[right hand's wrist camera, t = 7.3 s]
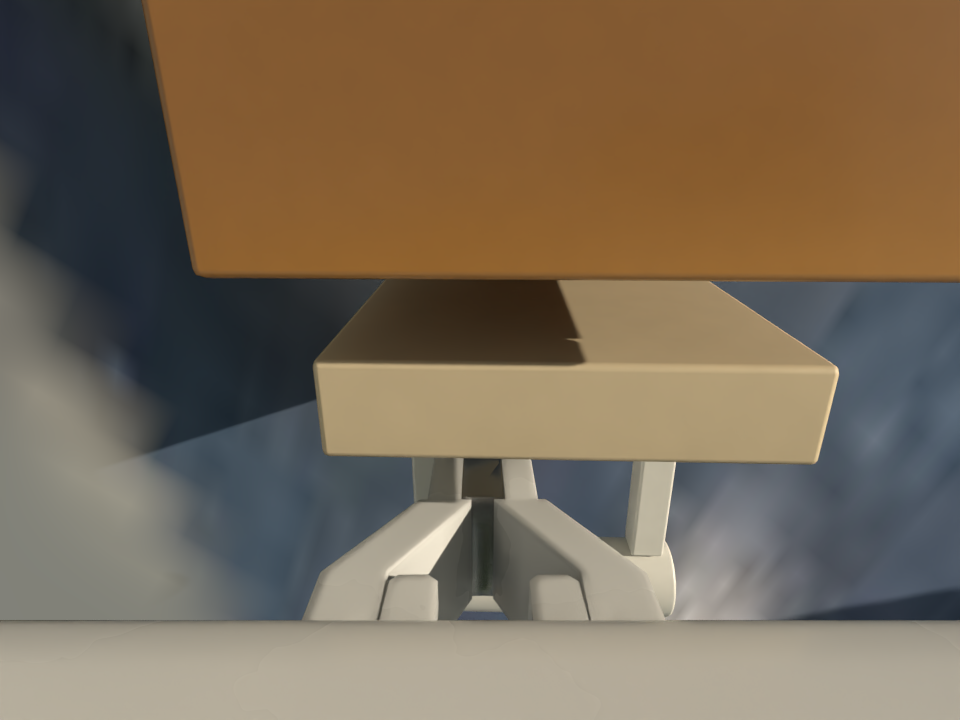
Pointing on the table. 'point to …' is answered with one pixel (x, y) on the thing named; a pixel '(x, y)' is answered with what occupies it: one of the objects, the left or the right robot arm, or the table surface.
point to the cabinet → (564, 138)
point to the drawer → (573, 386)
